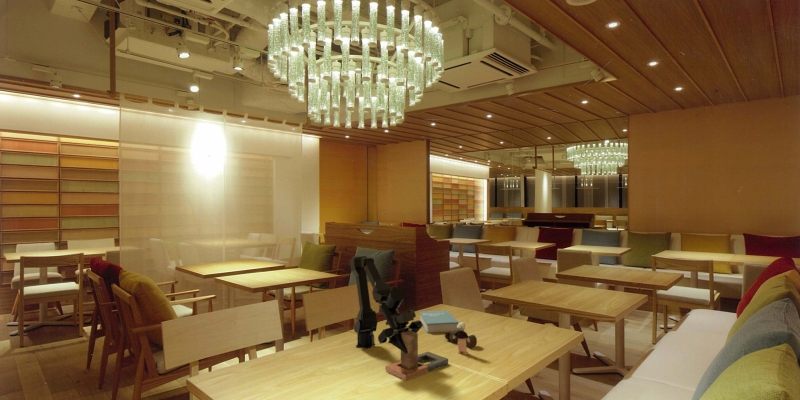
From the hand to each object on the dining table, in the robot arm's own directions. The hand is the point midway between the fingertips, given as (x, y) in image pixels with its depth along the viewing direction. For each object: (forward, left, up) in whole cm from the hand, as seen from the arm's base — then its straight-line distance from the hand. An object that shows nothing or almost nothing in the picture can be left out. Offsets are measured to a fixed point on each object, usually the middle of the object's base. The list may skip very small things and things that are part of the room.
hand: (411, 351), depth 151 cm
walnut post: (-1, +1, -7) cm, 7 cm away
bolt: (+10, +36, -8) cm, 38 cm away
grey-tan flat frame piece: (+1, +4, -7) cm, 9 cm away
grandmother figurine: (+13, +25, -8) cm, 29 cm away
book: (-6, +59, -8) cm, 60 cm away
